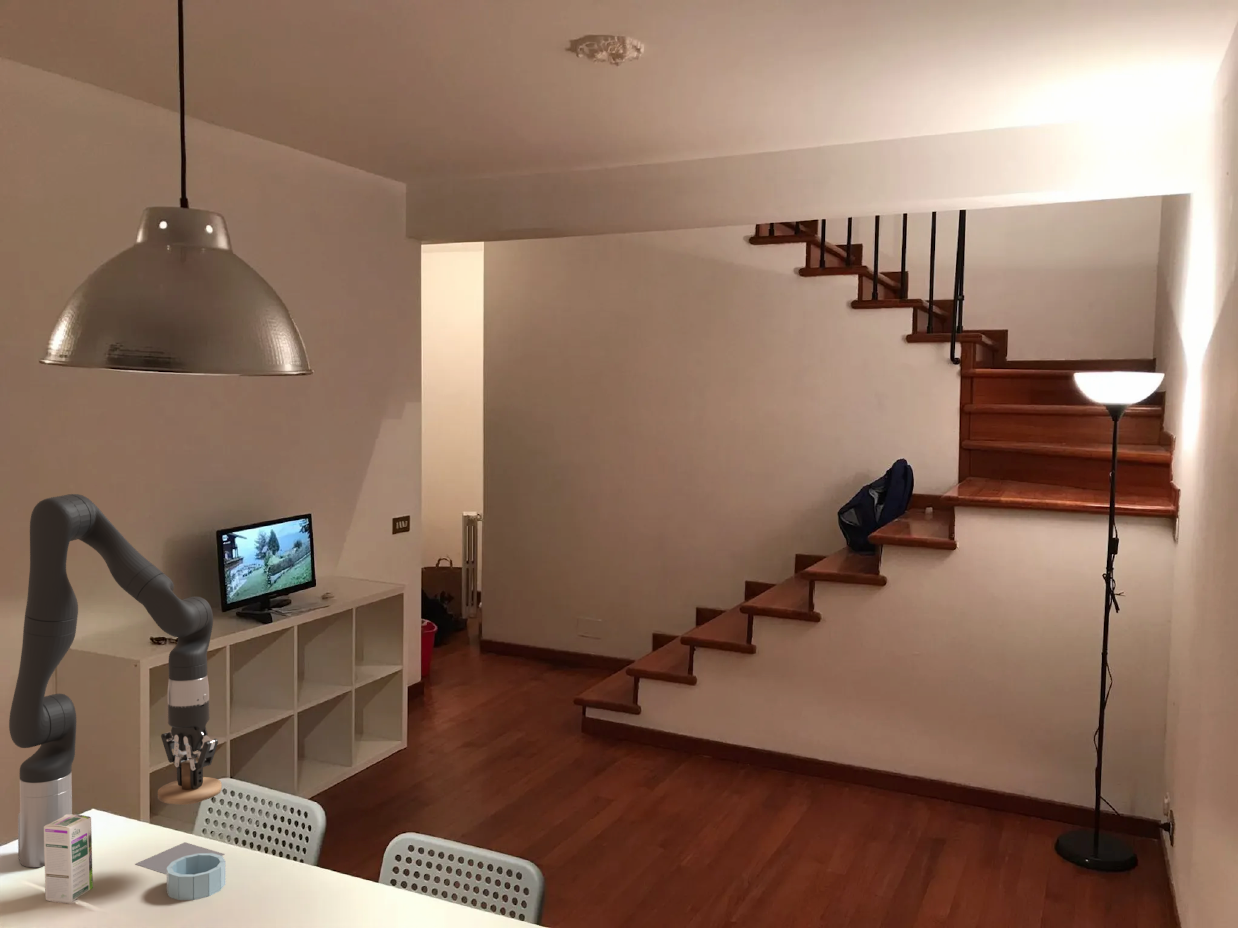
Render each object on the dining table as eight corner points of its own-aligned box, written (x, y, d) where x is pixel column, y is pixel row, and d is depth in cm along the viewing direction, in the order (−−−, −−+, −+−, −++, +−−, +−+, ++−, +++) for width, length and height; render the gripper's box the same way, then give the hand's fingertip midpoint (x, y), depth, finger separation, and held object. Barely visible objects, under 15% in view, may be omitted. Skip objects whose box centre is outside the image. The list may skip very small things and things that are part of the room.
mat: (134, 866, 201) (134, 863, 201) (184, 844, 212) (184, 841, 212) (175, 879, 196) (175, 876, 196) (225, 856, 207) (225, 853, 207)
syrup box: (71, 904, 186) (70, 827, 185) (43, 900, 187) (43, 824, 186) (93, 890, 191) (92, 815, 191) (66, 887, 192) (65, 812, 192)
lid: (144, 802, 196) (144, 766, 195) (193, 784, 206) (192, 749, 206) (186, 812, 191) (185, 775, 190) (234, 793, 201) (233, 757, 201)
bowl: (155, 894, 190) (155, 868, 190) (199, 873, 199) (199, 849, 199) (192, 907, 185) (192, 880, 185) (236, 885, 194) (236, 859, 194)
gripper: (147, 699, 197) (149, 786, 198) (198, 708, 191) (199, 797, 192) (179, 691, 204) (180, 774, 205) (229, 698, 198) (230, 785, 198)
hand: (190, 785), depth 198 cm, fingers closed on lid, 3 cm apart
